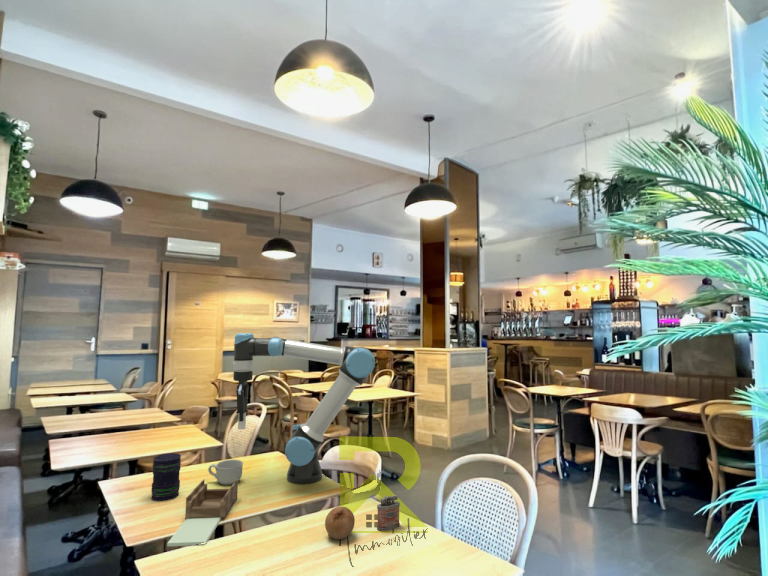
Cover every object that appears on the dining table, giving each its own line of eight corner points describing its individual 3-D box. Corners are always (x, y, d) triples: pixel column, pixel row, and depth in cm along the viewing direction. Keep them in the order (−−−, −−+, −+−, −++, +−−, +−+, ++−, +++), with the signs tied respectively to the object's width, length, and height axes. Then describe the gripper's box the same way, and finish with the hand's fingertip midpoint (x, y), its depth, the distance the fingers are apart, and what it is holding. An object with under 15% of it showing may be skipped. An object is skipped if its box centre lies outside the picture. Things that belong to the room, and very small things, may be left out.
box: (202, 500, 166) (203, 479, 167) (237, 499, 167) (237, 478, 168) (185, 521, 148) (186, 497, 149) (224, 519, 149) (225, 496, 150)
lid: (186, 523, 148) (186, 518, 148) (220, 522, 149) (220, 517, 149) (166, 548, 131) (167, 543, 131) (205, 546, 132) (205, 541, 132)
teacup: (246, 478, 190) (247, 459, 190) (235, 487, 179) (236, 467, 180) (215, 477, 191) (216, 458, 192) (203, 486, 180) (204, 466, 181)
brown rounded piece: (341, 552, 134) (340, 529, 130) (319, 536, 139) (318, 513, 135) (360, 530, 141) (360, 507, 137) (339, 515, 146) (338, 493, 142)
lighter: (379, 532, 141) (379, 500, 142) (375, 527, 144) (375, 496, 145) (401, 527, 144) (401, 496, 145) (396, 523, 147) (397, 492, 148)
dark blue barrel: (181, 490, 175) (183, 452, 177) (176, 500, 166) (178, 459, 167) (154, 492, 173) (156, 454, 174) (147, 502, 164) (149, 461, 165)
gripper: (237, 369, 187) (235, 425, 185) (230, 372, 174) (228, 433, 172) (255, 369, 188) (254, 425, 185) (249, 372, 175) (247, 432, 173)
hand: (241, 428), depth 179 cm, fingers closed
